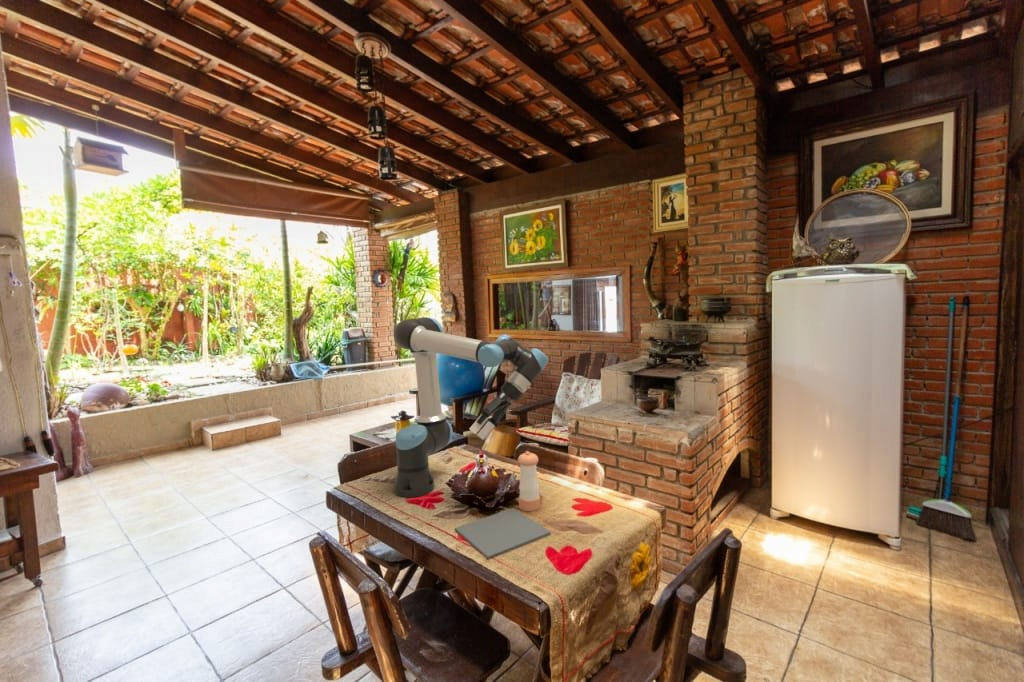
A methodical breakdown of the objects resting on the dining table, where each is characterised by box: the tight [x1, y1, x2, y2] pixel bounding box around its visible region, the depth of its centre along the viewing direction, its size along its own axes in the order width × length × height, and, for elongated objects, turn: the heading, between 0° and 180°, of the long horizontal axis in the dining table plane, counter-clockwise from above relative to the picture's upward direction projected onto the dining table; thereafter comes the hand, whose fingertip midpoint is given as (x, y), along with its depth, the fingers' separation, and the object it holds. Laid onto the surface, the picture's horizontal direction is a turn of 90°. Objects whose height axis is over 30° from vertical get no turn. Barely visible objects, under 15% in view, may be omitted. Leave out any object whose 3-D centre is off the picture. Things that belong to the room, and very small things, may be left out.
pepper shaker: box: [517, 451, 541, 512], centre depth 156 cm, size 7×7×19 cm
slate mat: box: [454, 507, 552, 560], centre depth 140 cm, size 20×22×1 cm
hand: (476, 434), depth 158 cm, fingers open, 13 cm apart
